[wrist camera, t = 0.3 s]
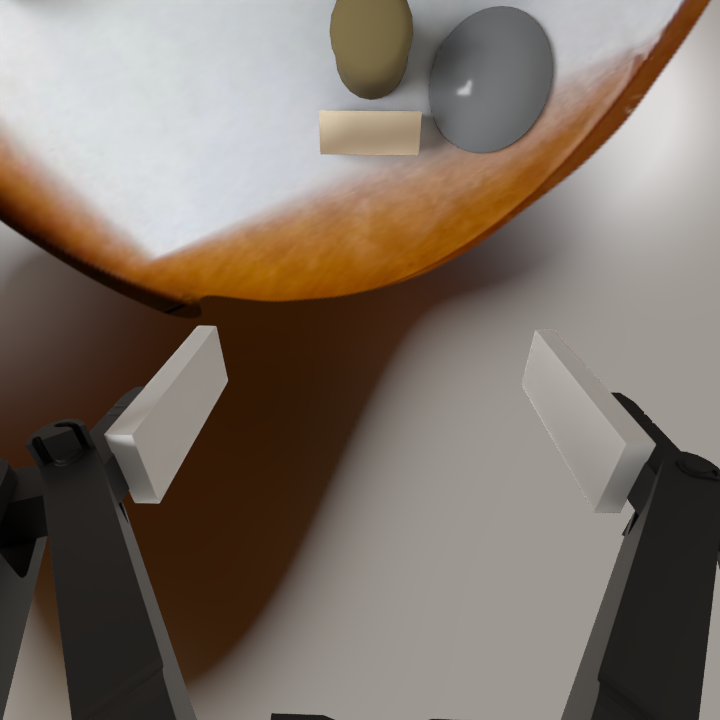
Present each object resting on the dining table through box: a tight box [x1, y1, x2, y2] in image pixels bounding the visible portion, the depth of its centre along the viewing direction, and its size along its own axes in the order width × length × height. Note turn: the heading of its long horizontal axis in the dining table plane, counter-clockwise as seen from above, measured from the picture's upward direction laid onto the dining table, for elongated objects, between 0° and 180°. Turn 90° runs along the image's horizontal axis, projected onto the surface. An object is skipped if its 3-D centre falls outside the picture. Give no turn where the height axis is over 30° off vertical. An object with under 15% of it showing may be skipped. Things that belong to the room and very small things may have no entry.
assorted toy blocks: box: [319, 111, 422, 155], centre depth 30 cm, size 14×20×5 cm
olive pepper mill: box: [330, 0, 413, 100], centre depth 28 cm, size 6×6×11 cm
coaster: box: [429, 6, 553, 153], centre depth 33 cm, size 10×10×1 cm
